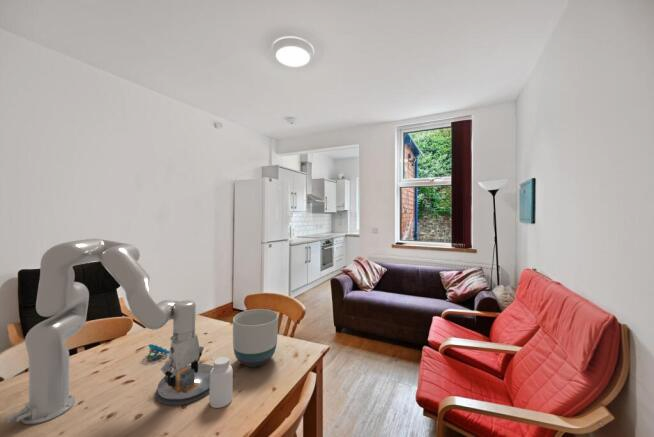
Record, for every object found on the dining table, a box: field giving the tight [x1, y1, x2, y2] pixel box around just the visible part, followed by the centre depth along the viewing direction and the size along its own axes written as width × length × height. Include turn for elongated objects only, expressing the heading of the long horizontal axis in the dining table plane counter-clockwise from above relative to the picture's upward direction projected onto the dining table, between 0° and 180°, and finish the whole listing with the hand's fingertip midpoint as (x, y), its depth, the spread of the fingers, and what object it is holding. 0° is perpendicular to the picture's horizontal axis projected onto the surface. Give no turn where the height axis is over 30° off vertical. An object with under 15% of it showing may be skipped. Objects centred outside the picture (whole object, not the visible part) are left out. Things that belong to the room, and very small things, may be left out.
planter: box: [232, 308, 279, 368], centre depth 122 cm, size 20×20×21 cm
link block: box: [174, 366, 194, 391], centre depth 100 cm, size 7×4×6 cm, turn 67°
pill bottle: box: [208, 356, 234, 409], centre depth 96 cm, size 8×8×15 cm
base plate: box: [155, 387, 210, 407], centre depth 104 cm, size 22×22×1 cm
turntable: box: [157, 360, 214, 401], centre depth 104 cm, size 21×21×9 cm
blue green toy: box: [146, 343, 170, 361], centre depth 124 cm, size 11×6×10 cm
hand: (183, 378), depth 100 cm, fingers open, 9 cm apart
